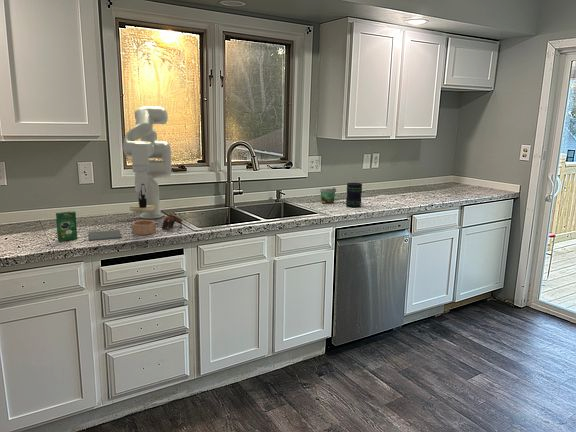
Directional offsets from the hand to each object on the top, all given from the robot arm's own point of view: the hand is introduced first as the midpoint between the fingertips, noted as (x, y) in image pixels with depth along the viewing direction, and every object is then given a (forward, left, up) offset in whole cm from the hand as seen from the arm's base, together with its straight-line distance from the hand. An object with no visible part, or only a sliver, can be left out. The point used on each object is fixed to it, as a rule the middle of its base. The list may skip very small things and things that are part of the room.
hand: (142, 205), depth 223 cm
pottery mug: (-4, +14, -14) cm, 20 cm away
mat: (0, -18, -13) cm, 22 cm away
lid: (0, 0, -2) cm, 2 cm away
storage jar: (-22, +134, -14) cm, 137 cm away
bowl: (0, 0, -13) cm, 13 cm away
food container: (-36, +124, -14) cm, 130 cm away
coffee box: (+2, -34, -14) cm, 37 cm away
